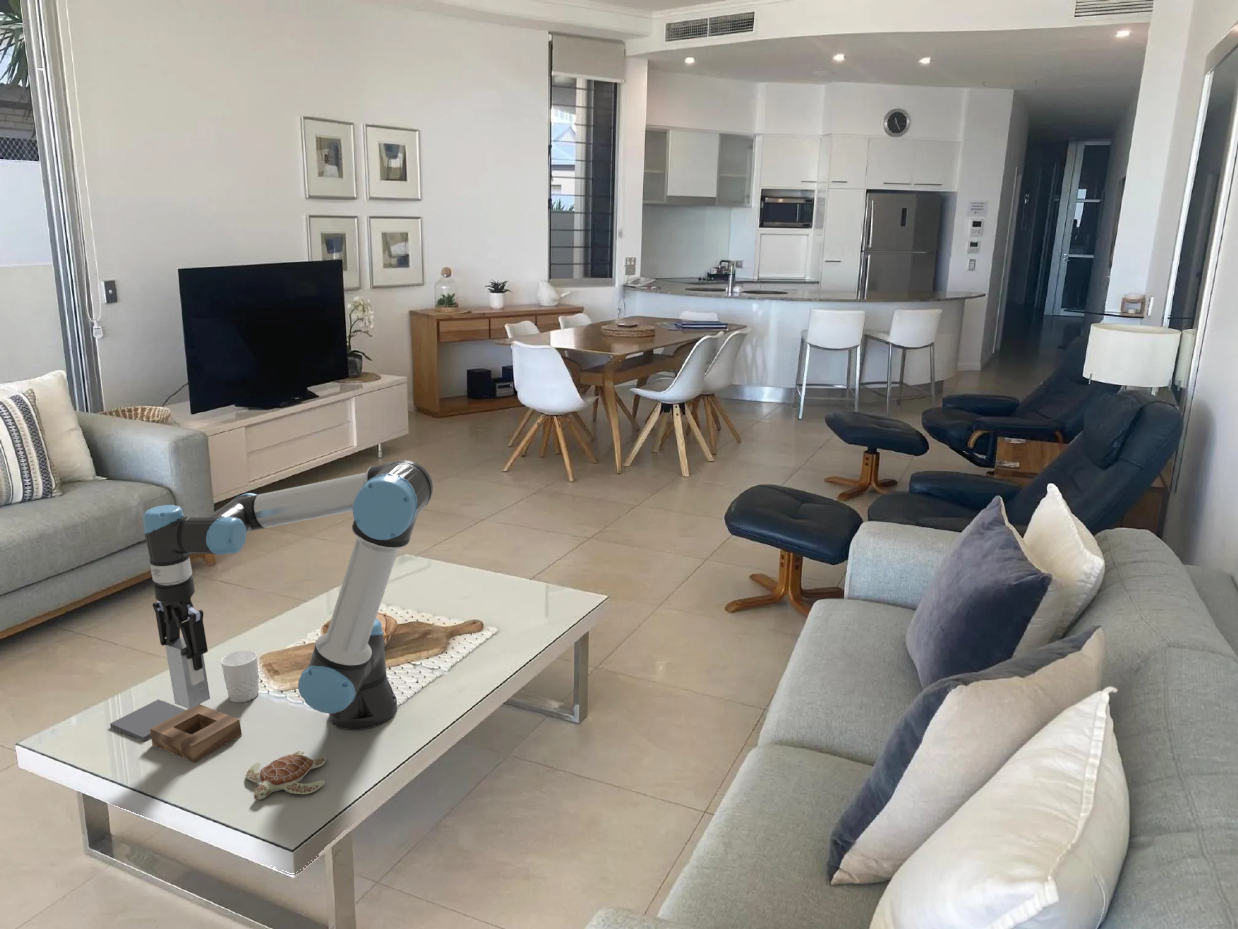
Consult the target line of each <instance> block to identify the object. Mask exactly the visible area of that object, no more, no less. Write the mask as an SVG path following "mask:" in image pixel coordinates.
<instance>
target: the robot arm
mask: <svg viewBox="0 0 1238 929" xmlns="http://www.w3.org/2000/svg"><path fill="white" fill-rule="evenodd" d="M433 489H434V484H433V480H432V476H431V475H430V473H429V471H428V469H426V467H424V466H423V465H422V464H420V463H419V462H417V461H414V460H410V459H397V460H393V461H389V462H386V463H381V464H379V465H372V466H370V467H369V468H368V469H367V470H366V471H365V472H362V473H357V474H352V475H348V476H347V475H346V476H342V477H337V478H332V479H328V480H323V481H318V482H314V483H309V484H305V485H299V486H293V487H289V488H288V487H287V488H284V489H280V490H273V491H269V492H264V493H259V494H256V493H253V492H252V493H251V492H247V493H243V494H241V495H238V496H236V497H235V498H233V499H232V500H230V501H229V502H228V503H226V504H225V505H224V506H222V507H221V508H219V509H217V510H216V511H214V512H212V513H211V514H209V515H208V516H199V517H198V516H193V517H192V516H185V514H184V512H183V508H182V507H181V506H180V505H175V504H164V505H159V506H154V507H152V508H149V509H147V510H146V511H145V512H144V513H143V515H142V520H143V534H144V538H145V543H146V547H147V552H148V557H149V559H148V561H149V564H150V570H151V571H150V574H151V577H152V581H153V582H154V583H153V591H154V597H155V600H156V602H153V603H152V607H153V610H154V613H155V618H156V624H157V629H158V630H157V631H158V636H159V643H160V645H161V646H165V644H168V643H170V642H172V641H174V640H177V639H179V638H181V634H182V637H183V638H184V641H185V644H186V647H187V650H188V653H189V656H187V657H186V658H187V662H188V668H189V675H190V681H191V685H193V686H194V685H196V684H198V683H200V682H202V681H204V674H203V664H202V658H201V655H202V654H203V655H204V654H206V653H208V652H209V651H208V642H207V637H206V632H205V631H206V630H205V626H204V625H205V624H204V611H203V610H202V609H199V610H196V609H195V608H194V604H193V601H192V599H191V598H192V597H193V595H194V594H195V591H196V588H195V585H194V584H195V583H194V577H193V576H192V575H193V569H192V563H191V558H190V555H191V554H195V555H196V554H200V555H201V554H202V555H204V554H205V555H218V556H219V555H222V556H223V555H230V554H237V553H239V552H241V550H242V549H243V546H244V545H246V544H245V543H246V540H247V534H248V533H250V532H253V531H254V532H255V531H258V530H263V529H268V528H272V527H273V528H274V527H279V526H282V525H283V526H284V525H287V524H294V523H300V522H302V521H309V520H315V519H319V518H324V517H329V516H334V515H335V516H336V515H339V514H345V513H349V512H352V516H353V522H352V525H351V526H352V527H351V532H352V533H353V534H354V535H355V538H356V540H355V542H354V545H353V547H352V552H351V555H350V558H349V560H348V564H347V565H348V566H347V568H346V571H345V574H344V577H343V581H342V584H341V587H340V590H339V593H338V597H337V600H336V603H335V605H334V610H333V613H332V616H331V618H330V622H329V625H328V628H327V632H325V633H323V634H322V635H320V636H319V637H318V638H317V639H316V642H315V645H314V648H313V651H312V654H311V658H310V659H309V662H308V663H309V664H308V666H307V667H306V668H305V669H304V670H303V671H302V673H301V674H300V677H299V679H298V684H297V687H298V692H299V695H300V697H301V698H302V699H303V700H304V702H305V704H307V705H308V707H309V708H312V709H313V710H315V711H317V712H320V713H322V714H323V713H324V714H328V715H329V721H330V722H331V724H332V725H333V726H334V727H337V728H340V729H344V730H348V731H349V730H351V731H352V730H353V731H355V730H356V731H357V730H367V729H371V728H374V727H378V726H380V725H383V724H385V723H386V722H388V721H389V720H390V719H392V718H393V717H394V715H395V714H396V713H397V710H398V703H397V702H398V701H397V697H396V694H395V693H394V691H393V688H392V686H391V684H390V682H389V680H388V677H387V667H386V666H387V664H386V663H387V662H386V655H385V653H386V652H385V651H386V650H385V641H384V631H383V626H382V622H381V620H380V619H378V618H377V616H378V613H379V609H380V607H381V605H382V601H383V598H384V595H385V593H386V592H385V591H386V589H387V585H388V582H389V580H390V576H391V573H392V570H393V567H394V564H395V561H396V558H397V556H398V552H399V550H400V549H402V548H406V547H407V546H408V544H409V543H410V540H411V537H412V533H413V531H414V529H415V524H416V522H417V520H418V516H419V515H420V513H421V512H422V511H423V510H424V508H426V506H428V504H429V503H430V501H431V499H432V497H433V491H434V490H433ZM193 650H194V651H193Z"/></svg>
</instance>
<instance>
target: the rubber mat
mask: <svg viewBox="0 0 1238 929" xmlns="http://www.w3.org/2000/svg"><path fill="white" fill-rule="evenodd" d="M185 710H186V709H185V708H182V707H179V706H177V705H175V704H173V703H172V704H171V703H169V702H166V701H164V700H162V699H156V700H154V701H152V702H150V703H148V704H146V705H144V706H142V707H140V708H138V709H136V710H134V711H133V712H130V713H128V714H126V715H124V716H122V717H120V718H118V719H115V720H114V721H112V722H110V723H109V724H110V726H109V727H110V728H111V729H114V730H115V731H118V732H121V733H124V734H125V735H128V736H130V737H131V738H135V739H137V740H140V741H142V742H146V741H148V740H149V739H151V733H150V728H152V727H154V726H156V725H158V724H160V723H162V722H164V721H166V720H168V719H170V718H172V717H173V716H175V715H177V714H179V713H181V712H183V711H185ZM145 740H146V741H145Z"/></svg>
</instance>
